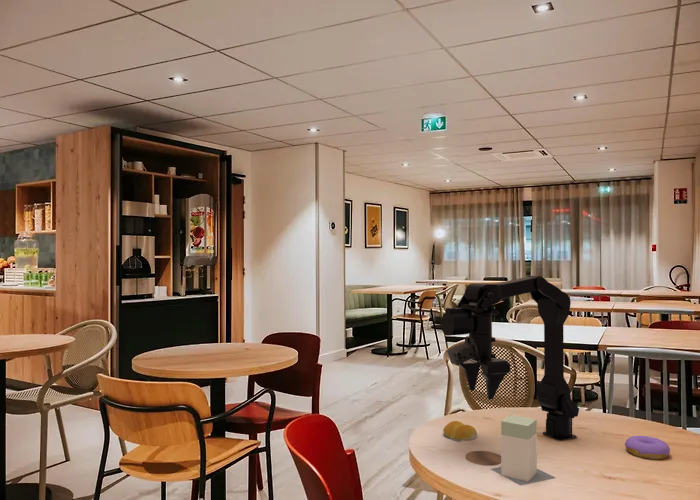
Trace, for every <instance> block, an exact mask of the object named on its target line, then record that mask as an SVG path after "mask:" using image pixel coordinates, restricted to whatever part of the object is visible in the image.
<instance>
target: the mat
mask: <svg viewBox="0 0 700 500" xmlns="http://www.w3.org/2000/svg"><path fill="white" fill-rule="evenodd" d="M490 470H492V471H493V472H495V473H497V474H499V475H500V476H502V477H504V478H506V479H508V480H510V481H512V482H514V483H515V484H517V485H519V486H525V485H530V484H534V483H539V482H545V481H549V480H553V479H556V478H557V477H556V476H553V475H551V474H549V473H547V472H545V471H544V470H542V469H539V468H537V473H536V474H535V475H534V476H533V477H532V478H531V479H530V480H529V481H524V480H520V479H515V478H511V477H507V476H503V475H501V466H498V467H494V468H490Z"/></svg>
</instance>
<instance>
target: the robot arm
mask: <svg viewBox="0 0 700 500" xmlns="http://www.w3.org/2000/svg"><path fill="white" fill-rule="evenodd" d="M528 293H529V295H530V298H531V299H532V300H533V301H534V302H535V303H536V304H537V311H538V315H539V316H540V319H541V320H542V321H543V332H544V333H543V335H544V336H543V345H544V346H543V354H544V355H543V356H544V357H543V359H544V360H543V362H544V366H543V367H544V368H543V370H544V373H543V377H542V378H541V380H540V381H536V382H535V387H536V393H535V397H537V403H539V405H540V408H541V411H542V412H546V419H545V431H543V432H542V435H545V436H546V437H549V438H552V439H555V440H557V441H564V440H572V439H577V438H578V435H576V434H573V419H575V418H577V417H578V416H579V412H580V408H579V407H578V405H577V404H576V403H575V402H574V401H573V399H572V398H571V397H572V396H571V395H572V394H571V389H570V386H569V385H568V382H567V380H566V379H565V377H564V376H565V373H564V370H565V369H564V365H565V362H564V360H565V358H564V355H565V354H564V324H565V322H566V321H567V319H568V317H569V316H570V313H571V312H570V311H571V297H570V296H569V294H567V292H565V291H563V290H562V289H560V288H559V287H557V286H555V285H554V284H552V283H550V282H549V281H548V280H547V279H546V278H544V277H543V276H540V275H528V276H526V277H522V278H521V277H520V278H517V279H516V278H515V279H512V280H506V281H501V282H497V283H486V282H482V283H480V282H477V283H476V282H472V283H471V282H470V283H469V284H467V286H466V288H465V290H464V293H463V295H462V297H461V299H460V300H459V301H458V304H457V305H456V307H454V308H453V307H446V308H445V312H444V313H443V315H442V317H441V320H440V322H439V323H440V329H441V331H442V333H443V334H444V335H445V336H448V337H449V336H451V337H452V336H462V335H466V336H465V337H464V342H463V343H461V344H460V343H459V344H458V345H456V346H453V347H451V348H449V349H447V350H446V352H447V355H448V358H449V360H450V363H451V364H454V365H456V366H459V367H460V368H461V369H463V372H464V374H465V375H464V376H465V379H466V381H467V385H468V388H469V390H470V391H471V392H472V391H475V389H476V386H477V383H478V377H479V373H480V374H481V375H482V377H483V378H484V379H485V387H486V394H487V399H488V400H494V397H495V395H496V394H497V391H498V389H499V387H500V385H501V383H502V382H503V380H504V378H505V376H508V373H511V370H512V369H511V367H512V366H511V363H510V362H509V361H508V360H506V359H503V358H499V357H498V358H496V356H497V355H496V353H493V343H495V342H496V337H494V336H493V322H492V321H493V317H492V316H494V315H495V316H497V315H499V314H500V312H499V311H498V310H497V309H496V308H495V307H494V306H495V305H496V304H499V303H500V302H501V301H502V300H503V299H506V298H512V297H515V296H519V295H524V294H528ZM480 370H481V371H480Z"/></svg>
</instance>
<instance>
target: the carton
mask: <svg viewBox="0 0 700 500" xmlns="http://www.w3.org/2000/svg"><path fill="white" fill-rule="evenodd" d="M500 425H501V426H500V430H501V433H500V434H501V435H500V441H501V442H500V444H501V445H500V447H501V449H500V455H501V464H500V465H501V466H500V467H501V475H500V476H502V475H503V476H502V477H504V476H507V477H511V478H515V479H520V480H524V481H529V480H530V479H531V478H532V477H533V476H534V475H535V474H536V473H537V469H538V464H537V463H538V461H537V460H538V454H537V453H538V452H537V450H538V448H537V446H538V445H537V443H538V442H537V439H538V438H537V437H538V435H537V434H538V432H537V431H538V430H537V429H538V428H537V427H538V421H537V419H535V418H531V417H525V416H518V415H513V414H510V415H508V416H507V417H505V418H504V419H502V420H501V421H500Z"/></svg>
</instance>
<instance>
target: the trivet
mask: <svg viewBox="0 0 700 500" xmlns="http://www.w3.org/2000/svg"><path fill="white" fill-rule="evenodd" d="M465 459H466V461H468V462H469V463H472V464H475V465H478V466H499V465H501V454H498V453H496V452H493V451H492V452H491V451H486V450H474V451H470V452H468V453H466V454H465Z"/></svg>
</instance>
